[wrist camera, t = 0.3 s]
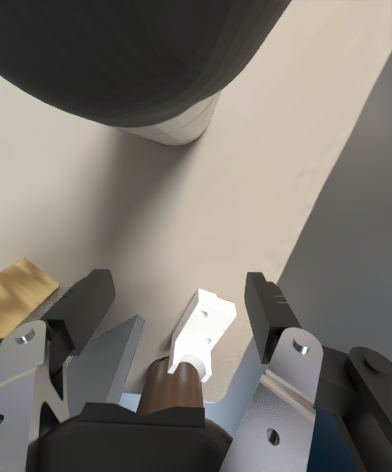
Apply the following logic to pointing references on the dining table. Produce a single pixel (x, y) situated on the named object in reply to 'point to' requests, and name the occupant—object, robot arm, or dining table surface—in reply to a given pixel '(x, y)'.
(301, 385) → the robot arm
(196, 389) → the plant pot
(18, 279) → the ochre block
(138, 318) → the wall board
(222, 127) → the dining table surface
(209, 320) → the bracket
